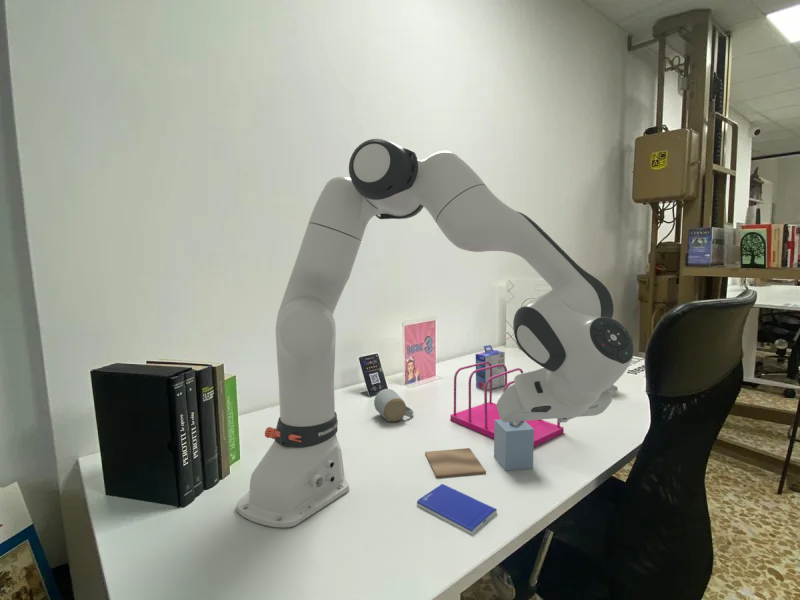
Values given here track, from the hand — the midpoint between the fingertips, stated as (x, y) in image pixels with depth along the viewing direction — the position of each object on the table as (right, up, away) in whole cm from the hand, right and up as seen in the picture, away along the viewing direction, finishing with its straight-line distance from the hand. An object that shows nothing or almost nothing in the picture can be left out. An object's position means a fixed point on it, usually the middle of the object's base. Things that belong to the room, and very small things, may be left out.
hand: (538, 420), depth 83 cm
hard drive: (-17, -16, -4) cm, 24 cm away
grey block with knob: (-2, -13, +13) cm, 18 cm away
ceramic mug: (-29, -11, +40) cm, 50 cm away
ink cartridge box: (+5, -7, +67) cm, 68 cm away
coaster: (-15, -13, +12) cm, 24 cm away
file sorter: (+1, -11, +32) cm, 34 cm away
